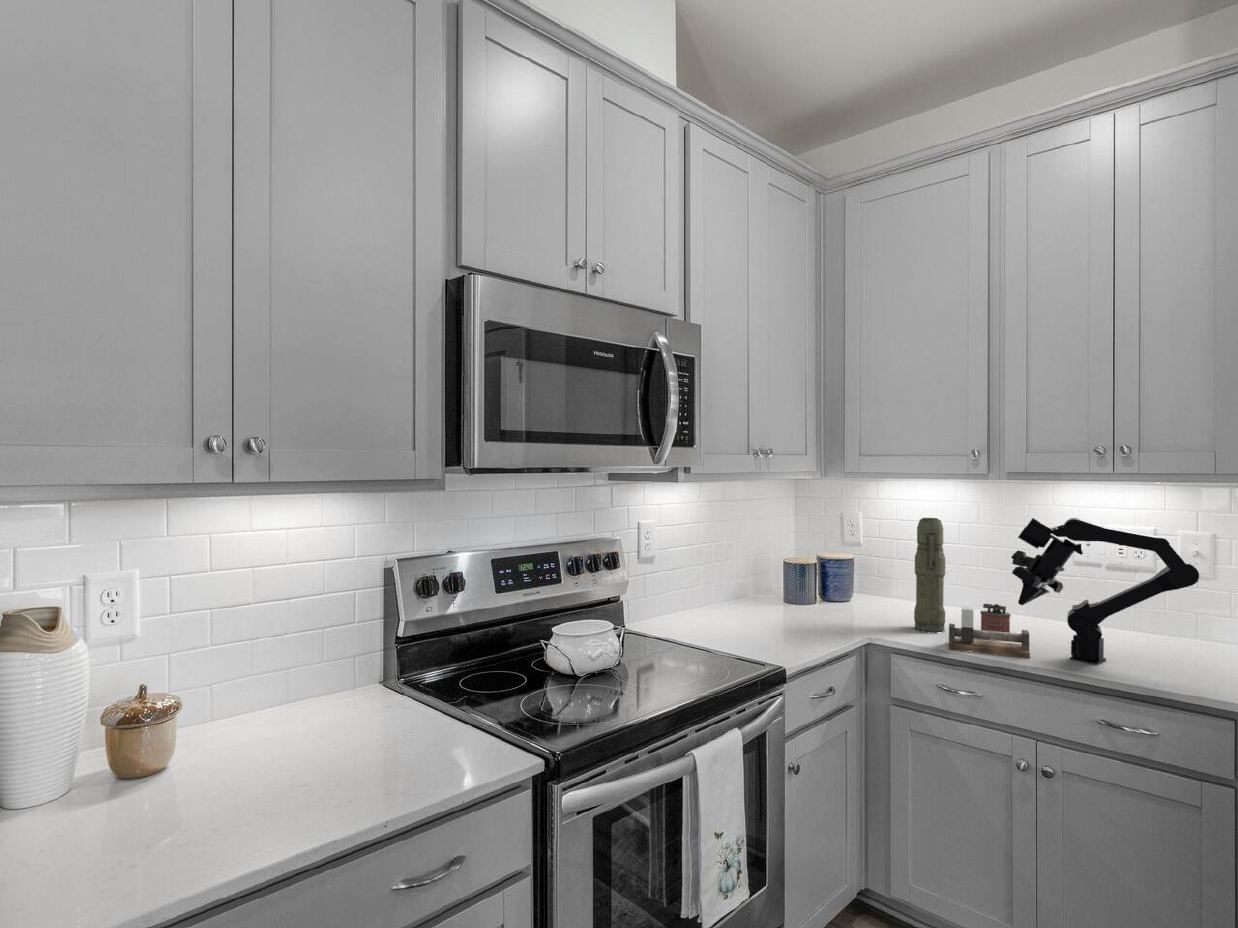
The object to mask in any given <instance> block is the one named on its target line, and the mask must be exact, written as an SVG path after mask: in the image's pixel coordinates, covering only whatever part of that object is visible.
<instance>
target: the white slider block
mask: <svg viewBox="0 0 1238 928" xmlns="http://www.w3.org/2000/svg"><path fill="white" fill-rule="evenodd" d="M960 622H961V627H960V628H962V631H961V637H960V638H961V642H965V643H973V640H974V638H973V629H974V606H967V605H961V621H960Z"/></svg>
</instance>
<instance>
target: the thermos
mask: <svg viewBox="0 0 1238 928" xmlns="http://www.w3.org/2000/svg"><path fill="white" fill-rule="evenodd" d="M916 543H917V547H916V551H915V552H916V553H915V555H914V574H915V577H916V579H915V581H916V582H915V588H916V589H915V590H916V593H915V601H916V602H915V606H914V609H913V610H914V614H913V615H914V617H913V619H914V629H915V631H918V630H919V631H918V632H921V631H924V632H923V633H927V632H934V633H933V634H938V633H937V632H942V633H944V632H945V631H946V630H945V624H946V610H945V607H944V593H945V591H944V587H945V586H944V581H945V580H944V579H945V576H946V556H945V553H944V548H943V545H944V526H943V523H942V520H941V519H939V518H936V517H922V518H919V521H918V524H917V527H916ZM943 631H944V632H943Z"/></svg>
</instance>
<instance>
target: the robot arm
mask: <svg viewBox="0 0 1238 928" xmlns="http://www.w3.org/2000/svg"><path fill="white" fill-rule="evenodd" d="M1017 538H1018V539H1019V540H1022V541H1023V542H1025V543H1027V544H1028V545H1030V546H1032V547H1034V548H1035V549H1039V548H1043V549H1044V548H1045V547H1046V545H1047V544H1048V543H1049V541H1051V542H1050V543H1049V544H1048V546H1047V547H1046V549H1045V550H1044V551H1043V553H1042V554H1037V555H1035V557H1031V556H1028V555H1027V553H1026V552H1025V551H1021V550H1016V551H1015V552H1013V554H1012V555H1011V559H1012V562H1011V563H1012V565H1015V567H1014V568H1013V570H1012V571H1011V574H1012V575H1014V576H1015V577H1017V578H1018V579H1020V580H1021V582H1022V588H1021V592H1020V595H1019V598H1018V602H1017V603H1018V604H1019V605H1020V606H1024V605H1026V604H1028V603H1030V602H1032V601H1034V600H1035V599H1037V598H1039V597H1041V596H1044V595H1046V594H1049V593H1050V590H1048V589H1047V587H1049V588H1051V589H1053V592H1055V593H1058V594H1060V593H1061V591H1062V590H1063V589H1064V585H1063V582H1061V581H1060V580H1058V579H1057V578H1056V576H1057V575H1058V574H1059V573H1060V572H1063V571H1065V568H1064V566H1065V565H1066V563H1067V562H1068V560H1069V559H1070V557H1071V556H1072V555H1073V554H1074V552H1075V553H1077V554H1079V555H1080V556H1081V555H1083V554H1084V553H1083V550H1082V544H1081V543H1077V544H1076V543H1074V541H1075V542H1104V543H1108V544H1113V545H1118V546H1119V545H1120V546H1125V547H1130V548H1134V549H1140V550H1147V551H1151V552H1154V553H1156V555H1158V558H1160V559H1161V561H1162V562H1163V563H1164V564H1165V566H1166V567H1164V568H1163V569H1161V570H1160V571H1158V572H1157V573H1156V574H1155V575H1154V576H1152V577H1151V578H1149V579H1146V580H1144V581H1142V582H1140V583H1137V584H1135V585H1134V586H1131V587H1129V588H1127V589H1125V590H1123V591H1120V592H1118V593H1116V594H1114V595H1111V596H1109V597H1107V598H1106V599H1103V600H1100V601H1098V602H1094V603H1093V602H1092V603H1089V600H1088V599H1085V600H1083V601H1081V602H1080V603H1079V604H1073V605H1072V606H1071V607H1072V608H1071V609H1070V610H1069V611H1068V612H1067V617H1066V620H1067V625H1068V627H1069V628H1070V629H1071V630H1072V631H1073V632H1075V634H1073V636H1072V637H1073V638H1072V640H1070V641H1071V643H1070V645H1071V646H1070V655H1071V656H1070V660H1074V661H1079V662H1084V663H1088V664H1093V665H1098V664H1101V663H1103V662H1106V661H1107V658H1105V657H1104V653H1105V652H1104V649H1105V648H1104V645H1105V644H1104V643H1105V641H1104V638H1103V637H1102V636H1103V633H1102V629H1101V627H1100V626H1099V625H1100V624H1101V623H1102V622H1103V621H1104V620H1106V619H1107V618H1108V617H1110V616H1113V615H1114V614H1117V613H1119V612H1121V611H1124V610H1126V609H1128V608H1130V607H1133V606H1135V605H1137V604H1139V603H1141V602H1143V601H1145V600H1148V599H1151V598H1153V597H1155V596H1157V595H1159V594H1161V593H1165V592H1170V591H1171V592H1172V591H1176V590H1177V591H1178V590H1181V589H1184V588H1189V587H1192V586H1194V585H1196V584H1197V583H1198V581H1199V579H1200V573H1199V570H1198V569H1197V568H1196V567H1195V566H1194V565H1193V564H1191V563H1190V562H1189V561H1187V560H1186V561H1185V560H1183V558H1182V557H1181V556H1180V555H1179V554H1178V553H1177V551H1176V550H1175V549H1174V548H1173V547H1172V546H1171V544H1170V542H1169V540H1167V539H1166V538H1165V537H1163V536H1159V535H1158V536H1157V535H1156V536H1154V535H1150V534H1149V535H1148V534H1143V533H1139V532H1138V533H1137V532H1132V531H1127V530H1121V529H1115V528H1109V527H1104V526H1102V525H1099V524H1096V523H1093V522H1091V521H1087V520H1085V519H1083V518H1079V517H1071V518H1069V519H1067V520H1066V521H1065V522H1064V523H1063V524H1061V525H1058V526H1054V527H1052V528H1051V527H1049V526H1048V525H1045V524H1044V523H1042V522H1041V521H1039V520H1038V519H1036V518H1035V517H1032V518H1031V520H1030V521H1029V523H1027V525H1025V527H1024V528H1023V529H1022V531H1021V532H1020V533H1019V535H1018V536H1017ZM1060 538H1065V539H1063V540H1062V539H1060ZM1067 538H1068V539H1067ZM1051 539H1052V540H1051Z"/></svg>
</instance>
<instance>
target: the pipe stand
mask: <svg viewBox="0 0 1238 928" xmlns="http://www.w3.org/2000/svg"><path fill="white" fill-rule="evenodd" d="M961 631H962V628H961V627H956V624H955V623H951V622H949V623H948V650H949V651H955V650H959V652H964V651H973V652H972V653H974V652H978V654H984V653H987V654H986V655H994V654H997V655H996V656H1003V655H1005V656H1006V657H1013V656H1014V657H1013V658H1023V657H1024V659H1031V652H1030V632H1029V630H1027V629H1021V633H1016V632H1010V633H1007V632H996V631H985V630H981V629H974V628H973V643H965V642H961ZM991 640H992V641H991ZM1012 642H1014V643H1012ZM1005 656H1004V657H1005Z"/></svg>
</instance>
